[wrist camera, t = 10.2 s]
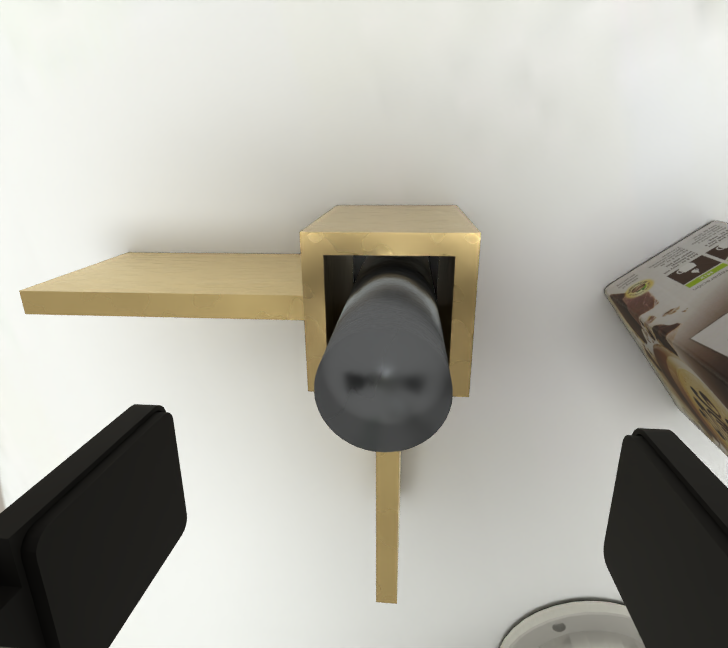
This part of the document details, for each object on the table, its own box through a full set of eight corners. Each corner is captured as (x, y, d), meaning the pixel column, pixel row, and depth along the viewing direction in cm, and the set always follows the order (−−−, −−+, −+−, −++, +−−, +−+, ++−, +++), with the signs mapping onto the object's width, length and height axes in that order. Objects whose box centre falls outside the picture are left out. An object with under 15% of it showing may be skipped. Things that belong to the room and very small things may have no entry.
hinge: (456, 205, 24) (480, 233, 16) (440, 496, 31) (451, 626, 22) (119, 205, 26) (-20, 230, 18) (168, 481, 32) (82, 597, 24)
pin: (429, 232, 25) (456, 329, 11) (427, 294, 26) (449, 454, 12) (365, 232, 25) (311, 326, 11) (365, 294, 26) (317, 449, 12)
